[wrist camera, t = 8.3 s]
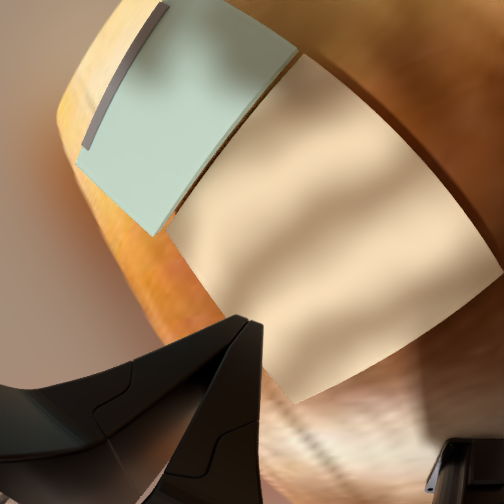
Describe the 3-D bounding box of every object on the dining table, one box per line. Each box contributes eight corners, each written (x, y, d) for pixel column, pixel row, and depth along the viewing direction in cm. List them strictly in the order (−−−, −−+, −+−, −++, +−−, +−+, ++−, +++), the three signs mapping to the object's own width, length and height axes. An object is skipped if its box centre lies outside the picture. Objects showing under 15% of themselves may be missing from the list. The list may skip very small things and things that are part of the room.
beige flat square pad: (498, 265, 13) (503, 272, 12) (302, 393, 21) (293, 404, 20) (313, 61, 16) (304, 53, 15) (178, 227, 24) (165, 230, 23)
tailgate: (296, 47, 13) (178, -23, 12) (151, 238, 22) (73, 164, 21) (300, 51, 15) (189, -16, 14) (162, 229, 23) (86, 160, 22)
